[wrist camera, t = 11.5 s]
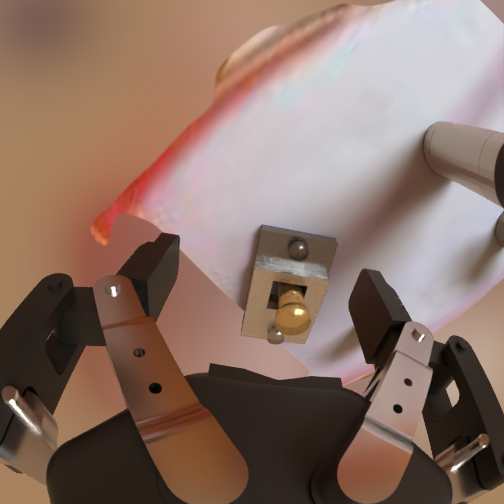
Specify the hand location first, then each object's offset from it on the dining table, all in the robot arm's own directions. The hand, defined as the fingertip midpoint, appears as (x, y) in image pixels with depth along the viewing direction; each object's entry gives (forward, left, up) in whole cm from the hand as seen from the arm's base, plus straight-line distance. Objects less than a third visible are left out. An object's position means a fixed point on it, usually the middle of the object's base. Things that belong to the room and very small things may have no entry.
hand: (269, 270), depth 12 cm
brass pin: (-8, +20, -30) cm, 37 cm away
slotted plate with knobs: (-7, +20, -30) cm, 37 cm away
